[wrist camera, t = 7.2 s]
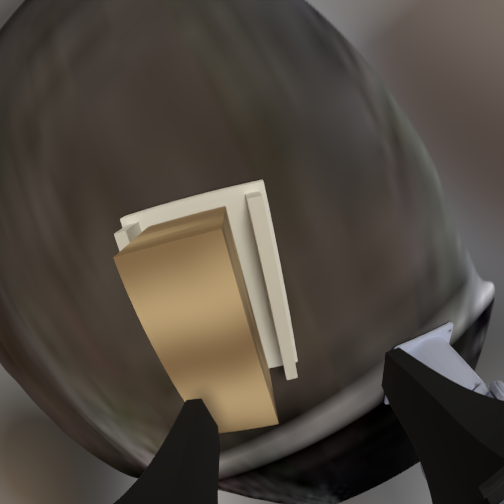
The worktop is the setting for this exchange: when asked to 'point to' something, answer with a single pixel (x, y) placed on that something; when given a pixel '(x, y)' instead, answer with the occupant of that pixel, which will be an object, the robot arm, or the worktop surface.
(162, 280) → the golden brown block
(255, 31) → the worktop surface
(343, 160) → the worktop surface
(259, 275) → the peg base
